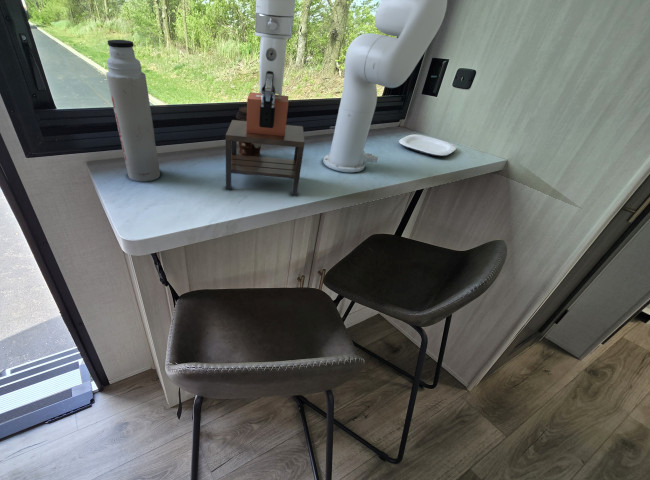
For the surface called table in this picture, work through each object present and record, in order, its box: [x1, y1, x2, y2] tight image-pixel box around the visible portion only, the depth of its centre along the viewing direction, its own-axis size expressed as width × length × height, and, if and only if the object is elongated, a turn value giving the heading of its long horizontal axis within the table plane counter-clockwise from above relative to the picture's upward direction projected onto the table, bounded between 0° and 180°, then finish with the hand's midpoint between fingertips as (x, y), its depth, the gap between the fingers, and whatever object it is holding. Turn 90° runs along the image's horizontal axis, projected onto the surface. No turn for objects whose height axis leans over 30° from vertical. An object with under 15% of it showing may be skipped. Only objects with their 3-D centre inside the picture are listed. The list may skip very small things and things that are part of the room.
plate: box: [398, 133, 458, 157], centre depth 116 cm, size 18×18×2 cm
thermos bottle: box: [105, 39, 161, 182], centre depth 75 cm, size 8×8×28 cm
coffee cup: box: [235, 105, 262, 157], centre depth 95 cm, size 9×8×13 cm
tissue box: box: [246, 91, 289, 136], centre depth 75 cm, size 6×9×7 cm
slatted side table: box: [225, 119, 306, 197], centre depth 82 cm, size 18×12×13 cm, turn 87°
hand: (267, 120), depth 76 cm, fingers open, 9 cm apart
